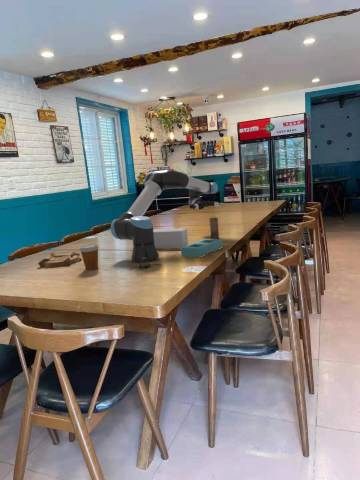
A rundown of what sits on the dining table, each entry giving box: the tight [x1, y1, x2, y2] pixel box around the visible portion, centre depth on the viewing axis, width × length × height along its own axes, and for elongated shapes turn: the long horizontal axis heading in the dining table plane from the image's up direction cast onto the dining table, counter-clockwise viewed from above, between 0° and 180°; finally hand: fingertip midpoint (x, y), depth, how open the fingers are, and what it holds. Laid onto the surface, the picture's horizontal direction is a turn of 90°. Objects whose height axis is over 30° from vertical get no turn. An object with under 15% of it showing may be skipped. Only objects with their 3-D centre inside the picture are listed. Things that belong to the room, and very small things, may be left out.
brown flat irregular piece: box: [37, 251, 82, 269], centre depth 201 cm, size 24×24×5 cm
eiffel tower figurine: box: [129, 243, 162, 271], centre depth 173 cm, size 15×10×13 cm
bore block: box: [180, 238, 223, 258], centre depth 196 cm, size 24×12×5 cm, turn 143°
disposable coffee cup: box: [79, 243, 99, 271], centre depth 180 cm, size 10×10×12 cm
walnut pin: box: [209, 217, 220, 240], centre depth 216 cm, size 5×5×16 cm
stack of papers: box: [153, 227, 189, 249], centre depth 222 cm, size 32×11×11 cm, turn 72°
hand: (208, 205), depth 222 cm, fingers open, 13 cm apart
